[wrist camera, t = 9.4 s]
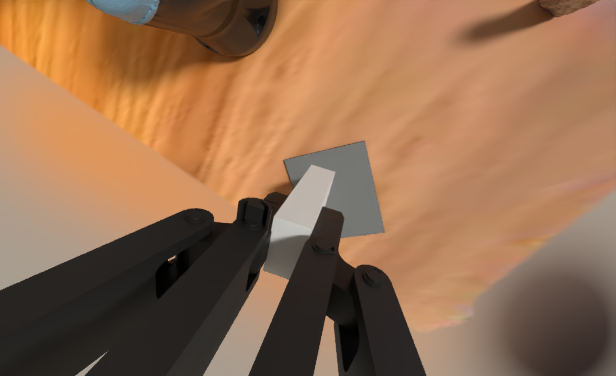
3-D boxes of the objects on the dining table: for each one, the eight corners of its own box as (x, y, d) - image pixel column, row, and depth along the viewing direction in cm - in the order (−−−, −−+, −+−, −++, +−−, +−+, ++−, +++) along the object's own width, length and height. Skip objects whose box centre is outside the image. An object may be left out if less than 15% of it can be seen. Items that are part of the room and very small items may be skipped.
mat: (284, 159, 49) (284, 160, 49) (364, 140, 44) (364, 141, 44) (311, 240, 55) (310, 241, 54) (384, 231, 50) (384, 232, 49)
